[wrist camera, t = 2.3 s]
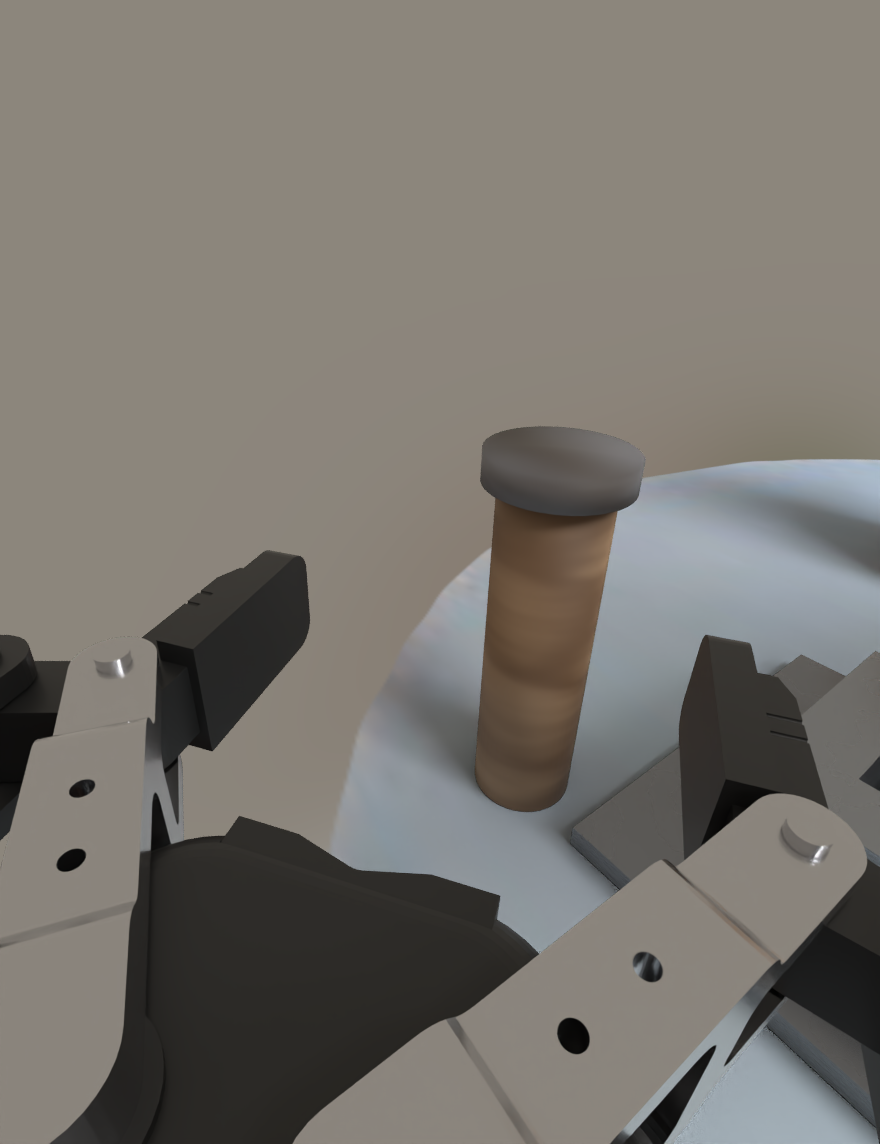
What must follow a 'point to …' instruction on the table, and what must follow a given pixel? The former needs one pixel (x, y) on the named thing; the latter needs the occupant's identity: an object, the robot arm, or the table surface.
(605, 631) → the table surface
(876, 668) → the socket block
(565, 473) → the walnut pin
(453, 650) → the table surface
